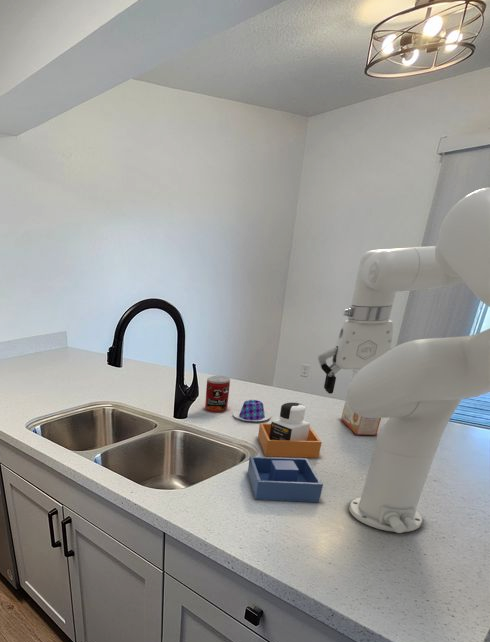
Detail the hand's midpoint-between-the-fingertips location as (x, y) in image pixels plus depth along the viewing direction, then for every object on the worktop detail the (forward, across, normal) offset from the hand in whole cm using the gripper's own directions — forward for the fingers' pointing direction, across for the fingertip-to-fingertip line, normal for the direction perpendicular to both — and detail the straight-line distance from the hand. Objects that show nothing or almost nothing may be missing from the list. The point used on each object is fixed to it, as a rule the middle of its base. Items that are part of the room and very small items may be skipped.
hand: (351, 391), depth 101 cm
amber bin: (+20, -8, +14) cm, 26 cm away
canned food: (+20, -24, +47) cm, 57 cm away
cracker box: (+20, +16, +30) cm, 40 cm away
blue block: (+19, -15, -10) cm, 26 cm away
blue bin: (+20, -15, -10) cm, 27 cm away
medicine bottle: (+20, -8, +13) cm, 25 cm away
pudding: (+20, -13, +39) cm, 46 cm away
